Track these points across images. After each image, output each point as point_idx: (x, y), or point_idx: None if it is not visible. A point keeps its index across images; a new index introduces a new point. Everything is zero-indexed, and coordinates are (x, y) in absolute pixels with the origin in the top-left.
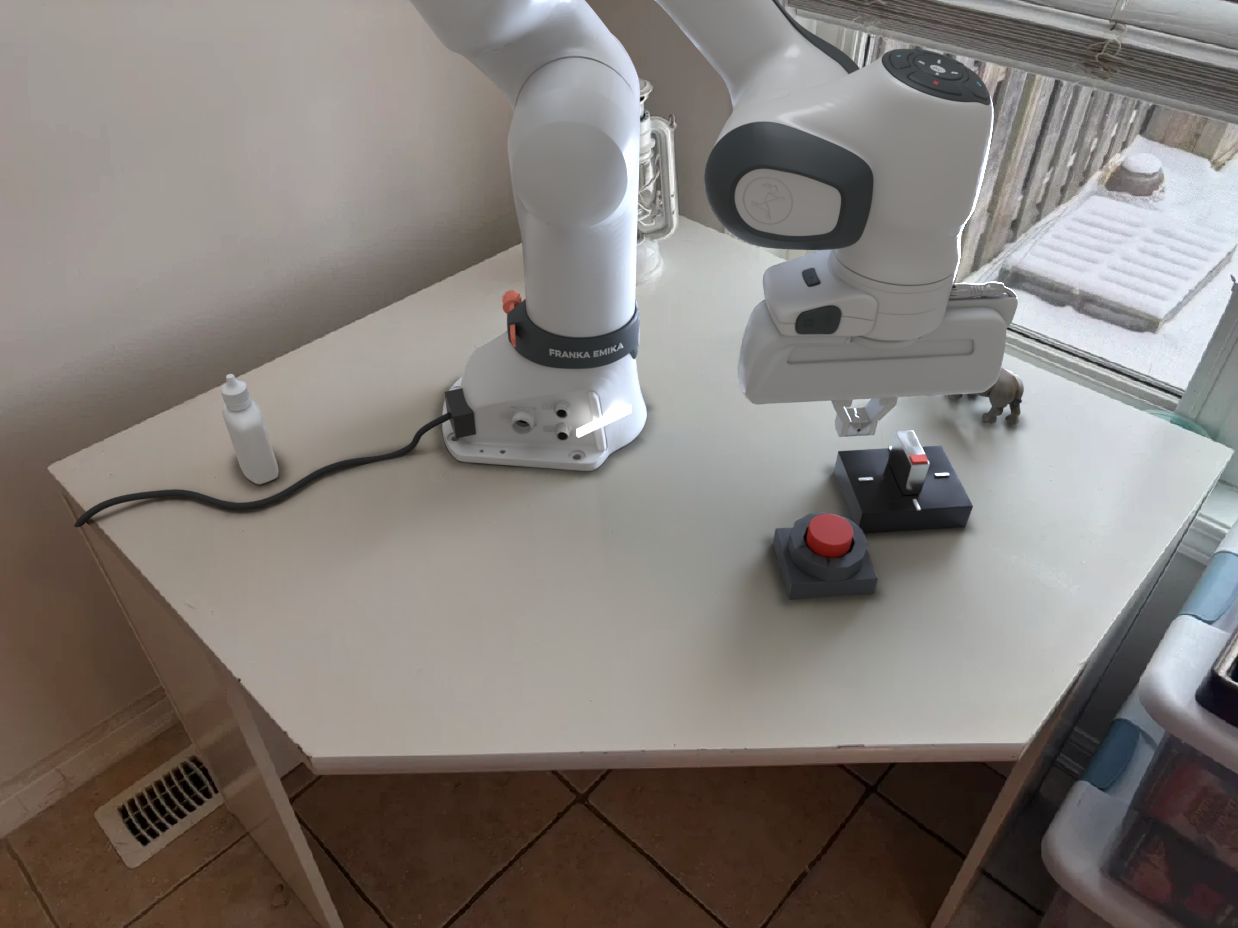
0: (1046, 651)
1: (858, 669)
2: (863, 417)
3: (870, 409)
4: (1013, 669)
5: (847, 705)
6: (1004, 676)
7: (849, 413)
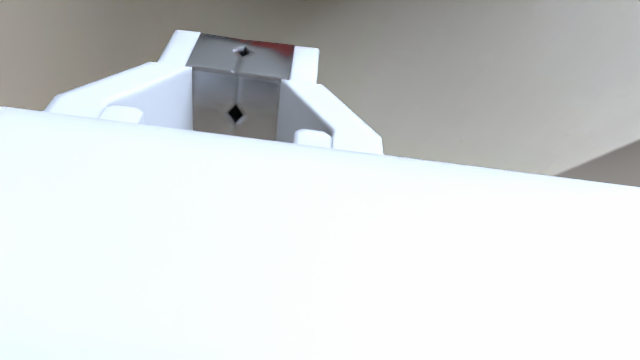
0: (568, 137)
1: None
2: (253, 134)
3: (286, 130)
4: (500, 151)
5: None
6: (479, 157)
7: (202, 99)
